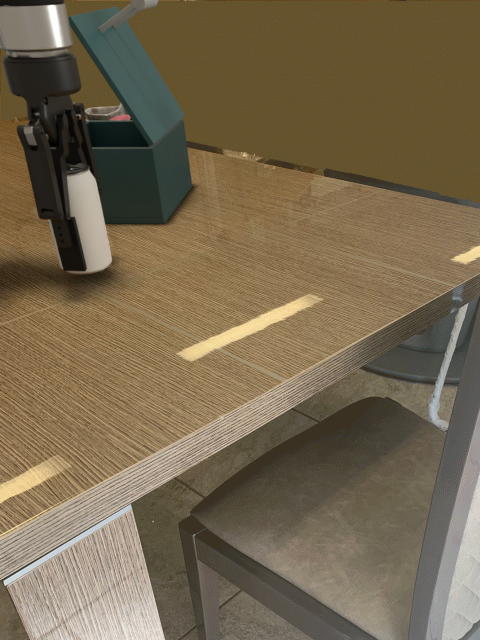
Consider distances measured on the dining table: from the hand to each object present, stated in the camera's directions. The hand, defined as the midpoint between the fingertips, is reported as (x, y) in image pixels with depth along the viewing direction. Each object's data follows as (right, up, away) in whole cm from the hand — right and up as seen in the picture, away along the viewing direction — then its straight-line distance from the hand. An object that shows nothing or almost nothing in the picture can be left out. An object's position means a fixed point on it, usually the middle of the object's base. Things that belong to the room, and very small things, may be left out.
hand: (85, 258), depth 82 cm
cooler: (-2, +16, +26) cm, 30 cm away
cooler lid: (+2, +31, +14) cm, 34 cm away
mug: (-15, +42, +61) cm, 75 cm away
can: (0, -1, +1) cm, 1 cm away
